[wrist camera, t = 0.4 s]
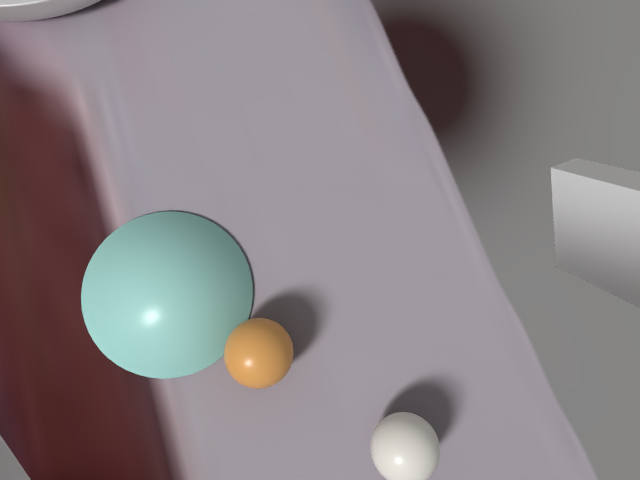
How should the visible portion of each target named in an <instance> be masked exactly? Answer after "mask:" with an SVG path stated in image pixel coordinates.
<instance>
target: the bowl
mask: <svg viewBox="0 0 640 480" xmlns="http://www.w3.org/2000/svg"><path fill="white" fill-rule="evenodd" d="M99 1H101V0H0V22H20V21H33V20H41V19H47V18H52V17H57V16H61V15H65V14H68V13H72V12H75V11H78V10H80V9H83V8H85V7H88V6H90V5H93V4H95V3H97V2H99Z"/></svg>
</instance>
